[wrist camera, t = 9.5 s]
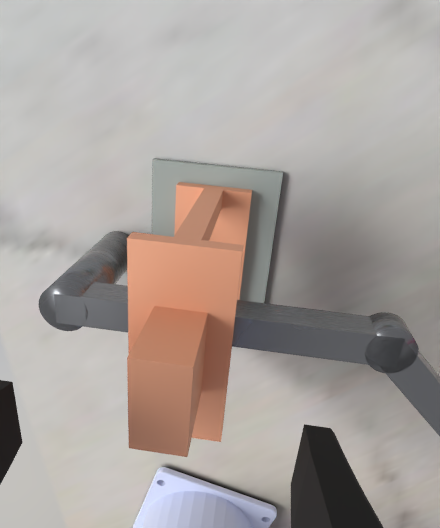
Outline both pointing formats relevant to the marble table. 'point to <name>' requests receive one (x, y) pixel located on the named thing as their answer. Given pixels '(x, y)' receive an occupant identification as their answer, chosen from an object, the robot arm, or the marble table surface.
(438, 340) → the marble table surface
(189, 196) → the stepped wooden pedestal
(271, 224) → the pad
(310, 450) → the robot arm
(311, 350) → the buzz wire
